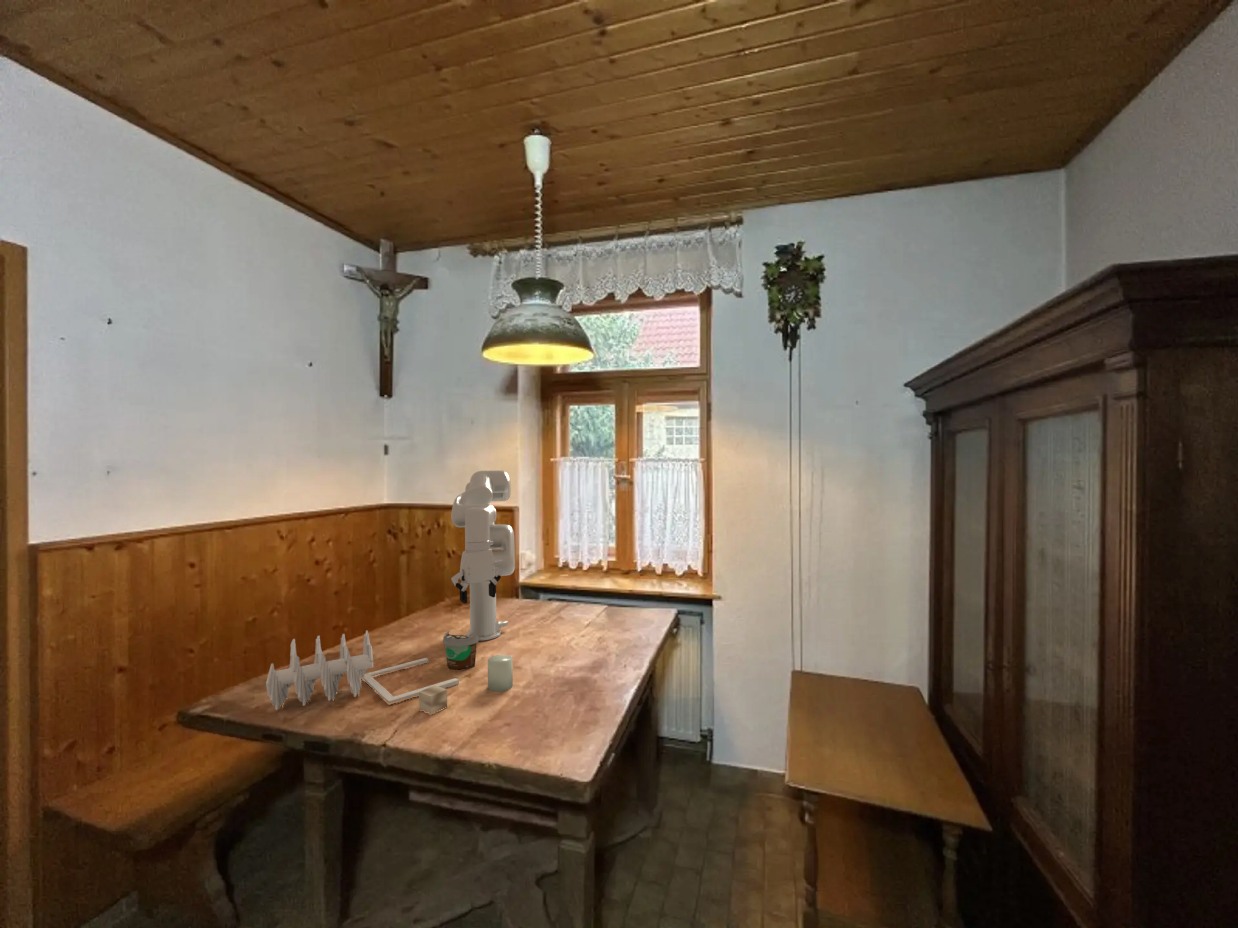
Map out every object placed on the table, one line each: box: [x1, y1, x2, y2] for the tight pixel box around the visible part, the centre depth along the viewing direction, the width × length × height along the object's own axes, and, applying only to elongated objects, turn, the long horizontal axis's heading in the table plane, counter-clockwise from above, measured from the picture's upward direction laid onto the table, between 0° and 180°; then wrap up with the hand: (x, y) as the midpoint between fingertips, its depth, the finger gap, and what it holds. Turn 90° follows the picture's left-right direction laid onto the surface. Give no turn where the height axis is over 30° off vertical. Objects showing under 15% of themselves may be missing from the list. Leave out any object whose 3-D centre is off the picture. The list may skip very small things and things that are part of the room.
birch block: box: [418, 684, 448, 714], centre depth 140 cm, size 5×5×5 cm
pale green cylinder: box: [487, 654, 514, 693], centre depth 154 cm, size 7×7×8 cm
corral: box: [361, 657, 460, 703], centre depth 158 cm, size 20×24×1 cm
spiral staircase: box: [265, 630, 374, 711], centre depth 146 cm, size 18×18×25 cm
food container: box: [442, 631, 479, 671], centre depth 168 cm, size 12×6×10 cm, turn 68°
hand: (478, 599), depth 169 cm, fingers open, 9 cm apart
